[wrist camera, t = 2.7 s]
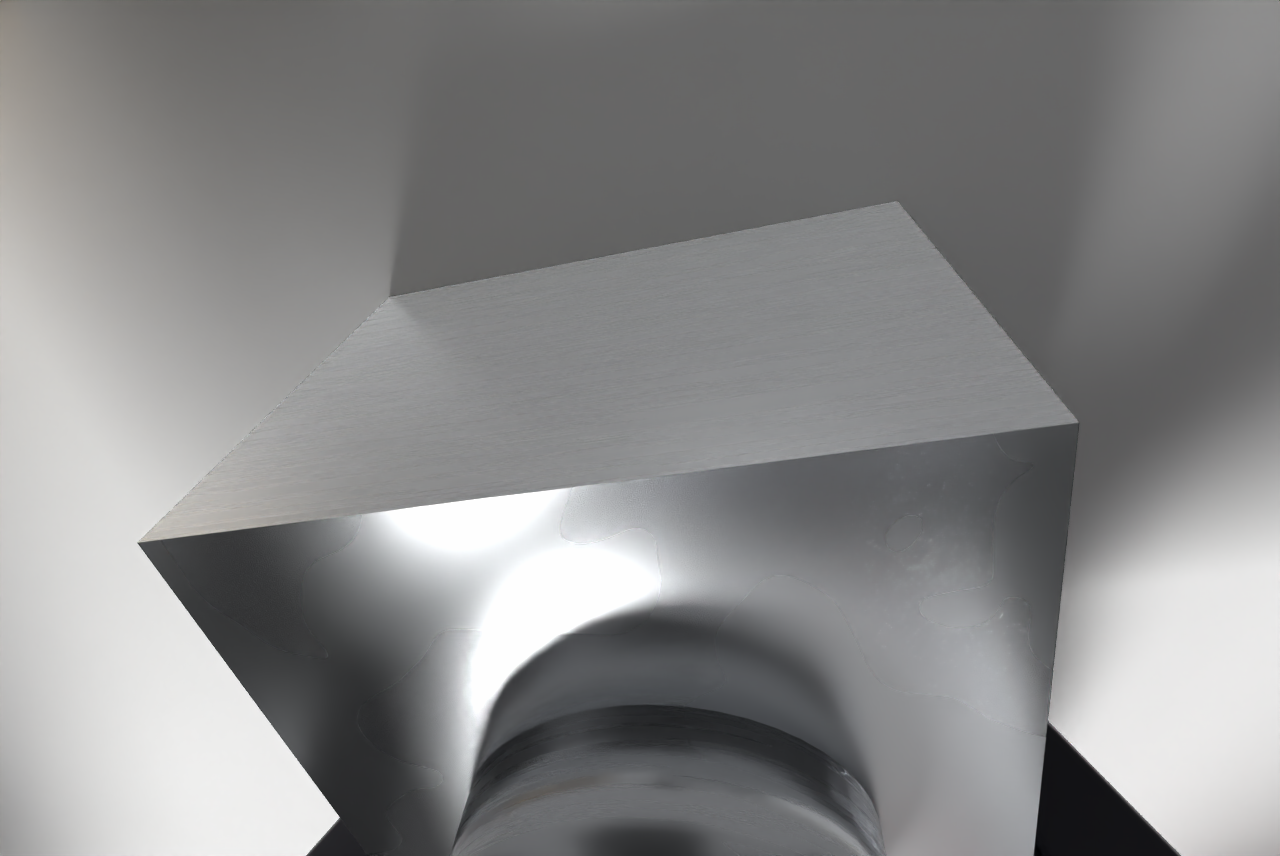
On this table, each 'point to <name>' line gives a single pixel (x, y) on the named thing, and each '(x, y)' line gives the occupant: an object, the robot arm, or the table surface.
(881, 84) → the table surface
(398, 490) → the housing
